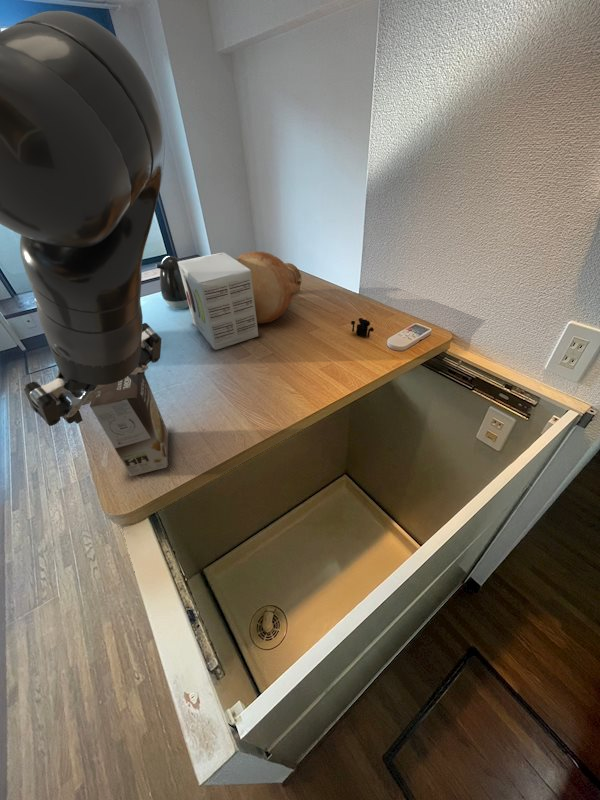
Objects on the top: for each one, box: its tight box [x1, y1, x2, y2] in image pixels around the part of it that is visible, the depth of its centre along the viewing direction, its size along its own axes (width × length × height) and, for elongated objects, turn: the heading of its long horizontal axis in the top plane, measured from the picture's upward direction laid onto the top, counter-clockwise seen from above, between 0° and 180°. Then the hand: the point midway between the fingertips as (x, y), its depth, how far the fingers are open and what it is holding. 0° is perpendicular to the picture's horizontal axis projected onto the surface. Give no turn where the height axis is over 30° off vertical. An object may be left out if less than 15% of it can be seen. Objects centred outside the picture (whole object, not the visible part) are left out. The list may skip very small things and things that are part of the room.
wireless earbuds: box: [350, 317, 375, 339], centre depth 88 cm, size 7×2×5 cm, turn 50°
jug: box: [234, 250, 303, 324], centre depth 97 cm, size 20×19×30 cm
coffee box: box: [89, 374, 169, 477], centre depth 54 cm, size 9×6×16 cm
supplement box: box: [178, 252, 259, 351], centre depth 86 cm, size 17×13×18 cm
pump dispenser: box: [155, 255, 189, 310], centre depth 100 cm, size 10×10×15 cm
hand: (105, 397), depth 42 cm, fingers open, 8 cm apart
